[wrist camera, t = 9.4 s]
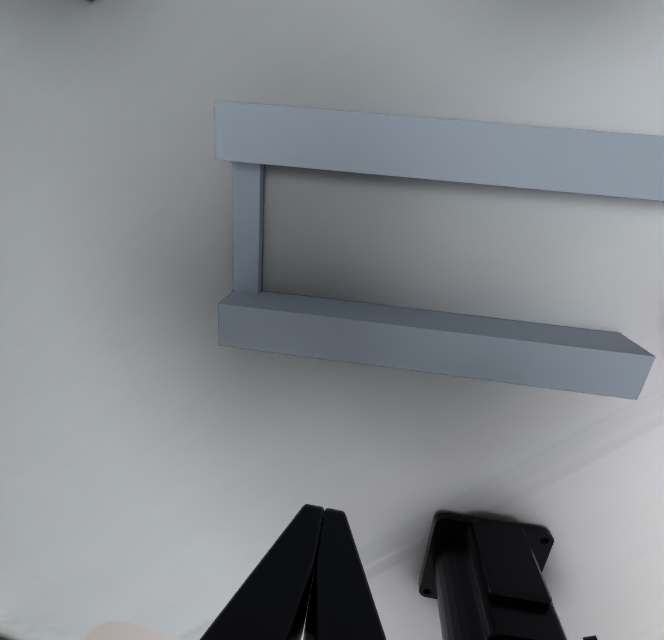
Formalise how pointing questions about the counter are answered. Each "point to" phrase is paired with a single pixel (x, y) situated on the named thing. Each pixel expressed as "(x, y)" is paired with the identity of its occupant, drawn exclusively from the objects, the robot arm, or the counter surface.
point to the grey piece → (436, 164)
